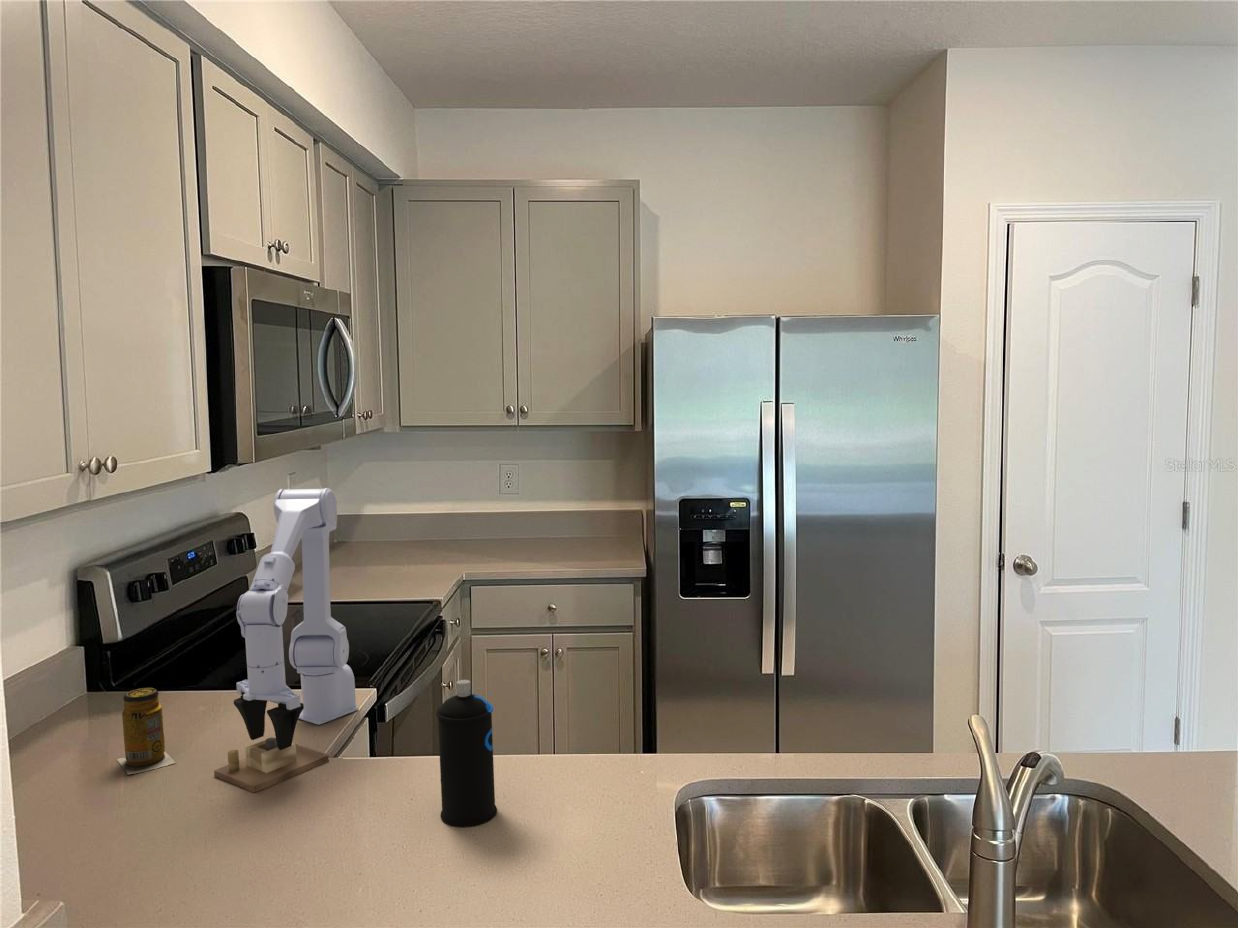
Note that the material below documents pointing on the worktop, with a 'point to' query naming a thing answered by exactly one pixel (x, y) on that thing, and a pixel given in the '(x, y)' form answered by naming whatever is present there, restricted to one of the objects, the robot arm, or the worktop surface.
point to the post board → (259, 780)
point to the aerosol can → (466, 758)
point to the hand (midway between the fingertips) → (270, 742)
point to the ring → (269, 756)
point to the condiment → (143, 732)
